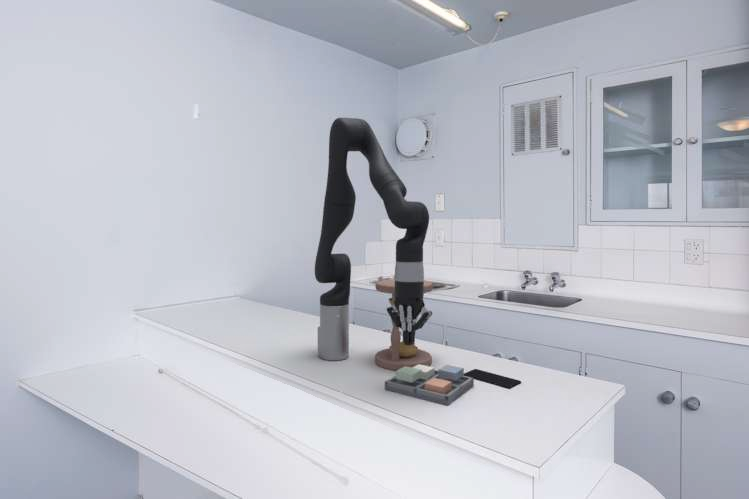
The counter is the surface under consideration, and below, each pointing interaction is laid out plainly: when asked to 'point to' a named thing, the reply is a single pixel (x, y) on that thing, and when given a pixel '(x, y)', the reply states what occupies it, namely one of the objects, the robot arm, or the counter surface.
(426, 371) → the cream key
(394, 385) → the keypad
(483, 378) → the smartphone
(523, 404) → the counter surface
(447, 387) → the terracotta key
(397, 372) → the sage key
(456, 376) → the slate key
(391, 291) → the hourglass
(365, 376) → the counter surface
